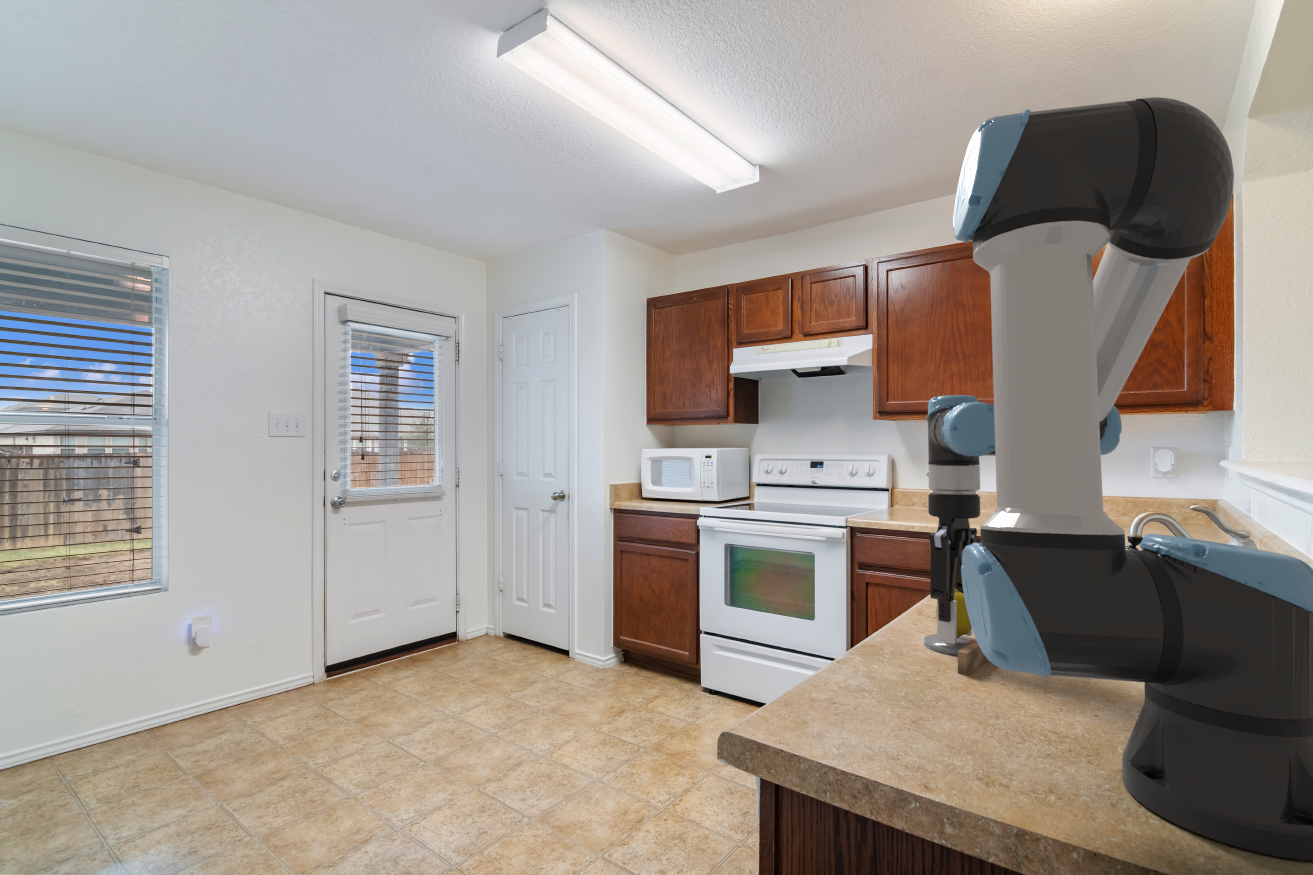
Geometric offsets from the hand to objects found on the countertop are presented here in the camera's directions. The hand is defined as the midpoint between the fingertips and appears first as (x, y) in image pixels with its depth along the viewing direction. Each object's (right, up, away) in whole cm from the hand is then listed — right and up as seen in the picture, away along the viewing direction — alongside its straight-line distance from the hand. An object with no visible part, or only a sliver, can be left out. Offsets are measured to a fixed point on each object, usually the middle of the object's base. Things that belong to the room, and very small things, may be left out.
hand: (954, 637), depth 101 cm
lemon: (0, -1, 0) cm, 1 cm away
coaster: (0, -2, 0) cm, 2 cm away
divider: (+2, -1, -6) cm, 6 cm away
